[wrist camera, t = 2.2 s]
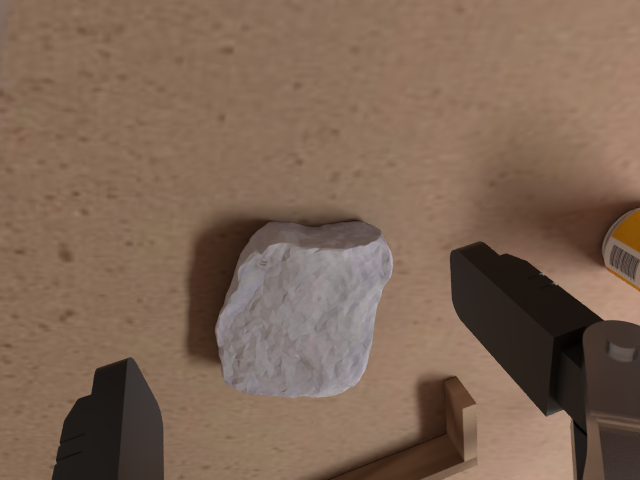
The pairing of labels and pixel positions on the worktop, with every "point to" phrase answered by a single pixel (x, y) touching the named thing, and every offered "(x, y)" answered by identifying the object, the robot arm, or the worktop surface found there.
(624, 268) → the beer can
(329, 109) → the worktop surface
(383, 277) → the stone block
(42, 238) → the worktop surface
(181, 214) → the worktop surface
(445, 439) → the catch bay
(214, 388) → the worktop surface
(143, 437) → the robot arm
